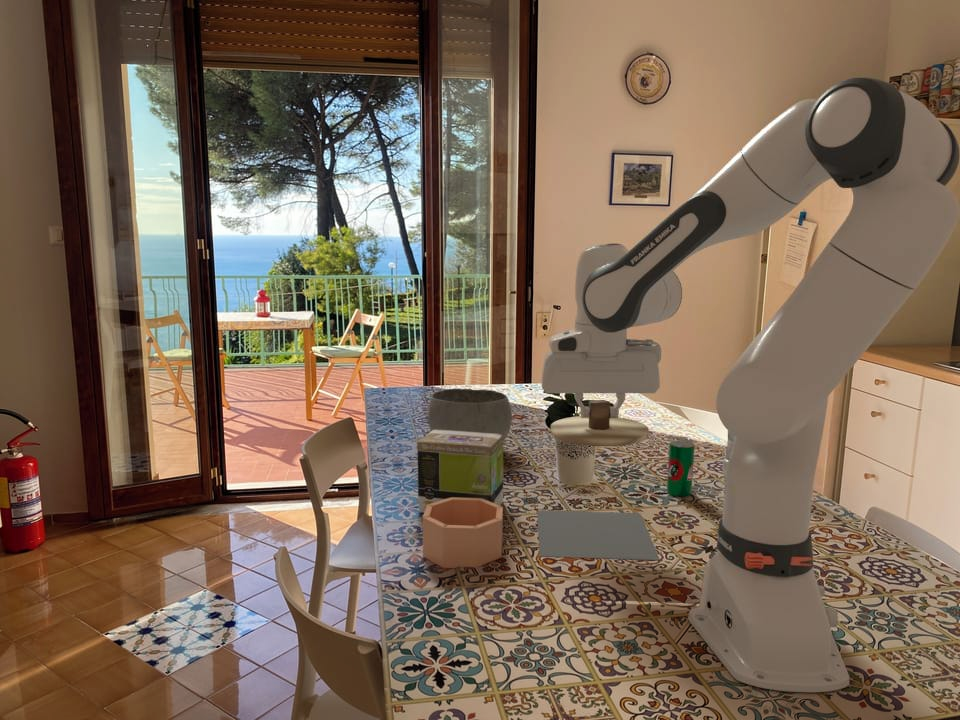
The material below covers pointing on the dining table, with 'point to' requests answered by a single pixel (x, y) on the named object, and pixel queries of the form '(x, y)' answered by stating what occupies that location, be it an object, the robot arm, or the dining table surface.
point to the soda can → (680, 466)
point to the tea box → (459, 466)
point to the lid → (599, 428)
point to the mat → (594, 535)
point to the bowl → (470, 411)
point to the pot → (462, 532)
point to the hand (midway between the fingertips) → (599, 417)
